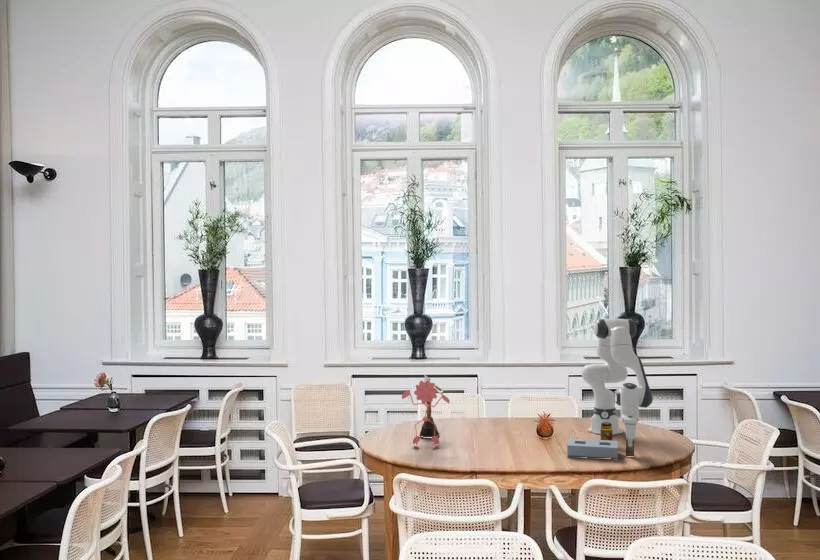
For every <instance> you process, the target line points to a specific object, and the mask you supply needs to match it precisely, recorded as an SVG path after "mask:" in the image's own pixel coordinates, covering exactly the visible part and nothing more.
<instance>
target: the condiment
mask: <svg viewBox="0 0 820 560" xmlns="http://www.w3.org/2000/svg"><path fill="white" fill-rule="evenodd" d="M611 425H612V424H611V423H609V422H603V423H601V434H600V440H610V441H614V440H613V435H612V426H611Z"/></svg>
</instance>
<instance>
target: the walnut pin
mask: <svg viewBox="0 0 820 560" xmlns="http://www.w3.org/2000/svg"><path fill="white" fill-rule="evenodd" d="M626 456H634V457H635V439H634V440H633V441H632V447H629V446H628V439H627V438H626V437H625V457H626Z"/></svg>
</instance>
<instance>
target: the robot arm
mask: <svg viewBox="0 0 820 560" xmlns="http://www.w3.org/2000/svg"><path fill="white" fill-rule="evenodd" d="M593 326H594V327H593V331H594V334H595V336H596V338H598V340H597V349H596V353H597V356H598V357H599V359H600V360H603V361H605V363H591V364H587V365H584V366H583V368H582V369H581V378H582V379H583V381H584V382H585V383H586V384H588V385H589V387H591V389H592V392H593V398H594V407H593V415H592V416H591V418H590V423H591V424H590V427H589V428H588V429H587V432H589V433H593V434H596V435H601V423H603V422H609V423H611V424H612V425H611V426H612V436H614V435H618V434H623V430H622V429H621V428H620V427H619V426H620V425H619V421H622V422H623V425H624V428H625V429H624V430H625V439H626V438H627V439H628V446H629V447H632V441H633V440H634V441H635V438H636V429H637V425H638V422H639V421H640V409H639V408H648V407H649V406H650V405H652V403H653V399H654V397H653V393H652V391H651V388H650V386H649V383H648V379H647V376H646V372H645V368H644V365H643V362H642V359H641V357H639V356H638V355H636V353H635V352H634V348H633V342H632V339H633V338H634V337H635V336H636V333H637V325H636V323H635V321H634V320H633V319H628V318H605V319H604V318H600V319H596V321H595V322H594V325H593ZM627 368H629V369H631V370H633V373H635V376H636V379H637V382H638V385H636V384H635V383H633V382H624V381H626V380H627V377H628V373H629V371H628V369H627ZM621 382H624V383H622V384H621V386H620V387H617V389H616V390H614V392H613V391H612V390H611V389H608V388H606V384H612V383H613V384H615V383H616V384H617V383H621ZM638 386H639V387H638ZM616 405H618V406H619V407H620V420H619V417H618V416H617V415H616V414H617V408H616Z"/></svg>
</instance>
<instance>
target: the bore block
mask: <svg viewBox="0 0 820 560" xmlns="http://www.w3.org/2000/svg"><path fill="white" fill-rule="evenodd" d="M618 447H619V445H618V440H613V441H610V440H601V439H587V438H585V439H584V438H568V440H567V456H566V457H567V458H570V457H587V458H586V459H588V458H611V459H618V460H619V458H618V457H619V456H618V455H619V453H618V452H619V450H618V449H619V448H618Z"/></svg>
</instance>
